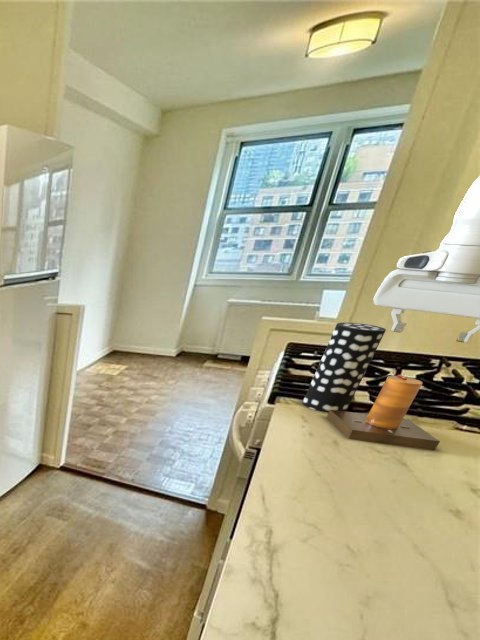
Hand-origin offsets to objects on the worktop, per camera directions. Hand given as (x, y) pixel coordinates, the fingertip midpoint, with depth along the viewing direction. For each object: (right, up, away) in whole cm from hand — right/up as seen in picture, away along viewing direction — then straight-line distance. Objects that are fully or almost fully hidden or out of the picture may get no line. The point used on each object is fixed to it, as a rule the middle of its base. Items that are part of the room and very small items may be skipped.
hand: (428, 336), depth 95 cm
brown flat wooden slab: (0, -19, +10) cm, 21 cm away
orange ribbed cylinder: (0, -17, +9) cm, 19 cm away
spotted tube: (0, -12, +23) cm, 26 cm away
